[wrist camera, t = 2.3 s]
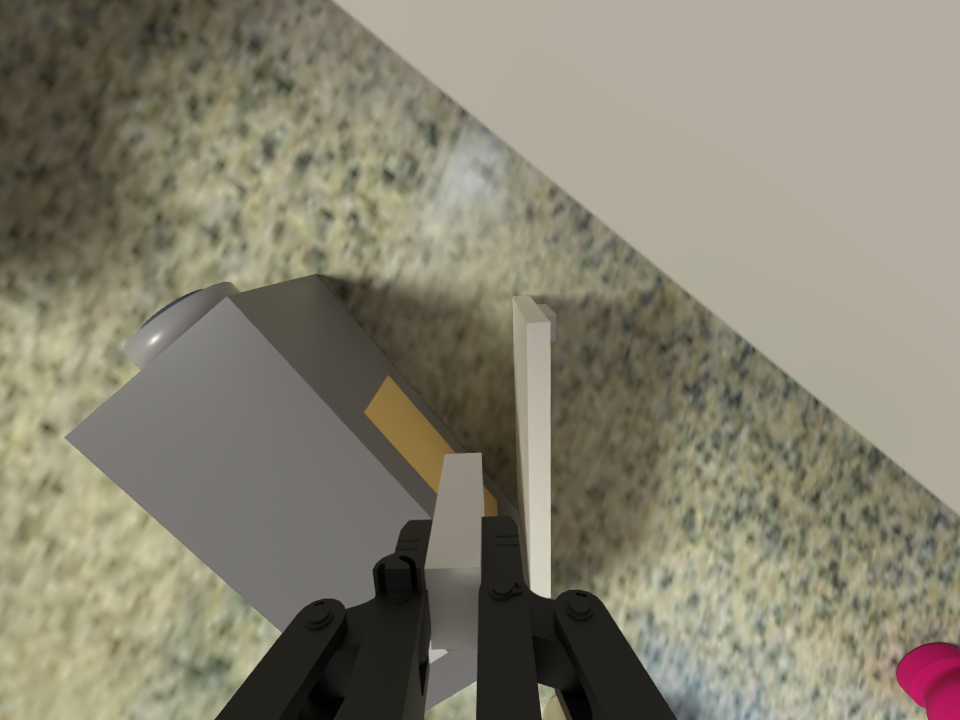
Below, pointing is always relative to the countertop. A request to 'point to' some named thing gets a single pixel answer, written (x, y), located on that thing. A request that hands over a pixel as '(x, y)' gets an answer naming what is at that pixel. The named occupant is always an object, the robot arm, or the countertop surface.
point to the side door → (534, 434)
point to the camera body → (279, 449)
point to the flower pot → (553, 710)
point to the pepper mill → (933, 679)
